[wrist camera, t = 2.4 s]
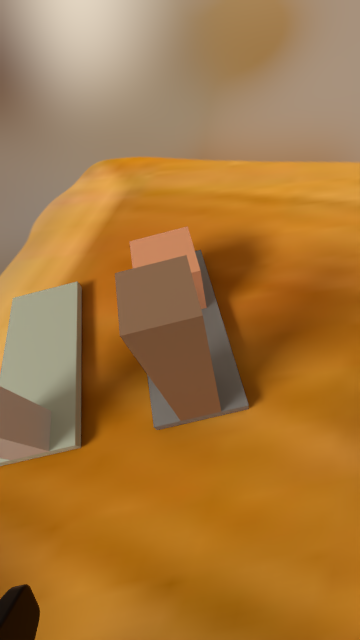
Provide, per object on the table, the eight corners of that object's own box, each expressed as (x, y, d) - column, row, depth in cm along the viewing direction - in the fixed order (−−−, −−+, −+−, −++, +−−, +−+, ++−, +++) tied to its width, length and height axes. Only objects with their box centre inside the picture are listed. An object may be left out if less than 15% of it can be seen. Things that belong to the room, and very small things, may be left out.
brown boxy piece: (248, 409, 22) (259, 301, 10) (157, 430, 22) (65, 348, 11) (201, 256, 31) (178, 103, 19) (136, 273, 31) (73, 133, 19)
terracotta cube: (206, 307, 26) (200, 270, 22) (151, 321, 26) (135, 287, 22) (195, 266, 29) (187, 226, 25) (145, 279, 29) (129, 241, 25)
